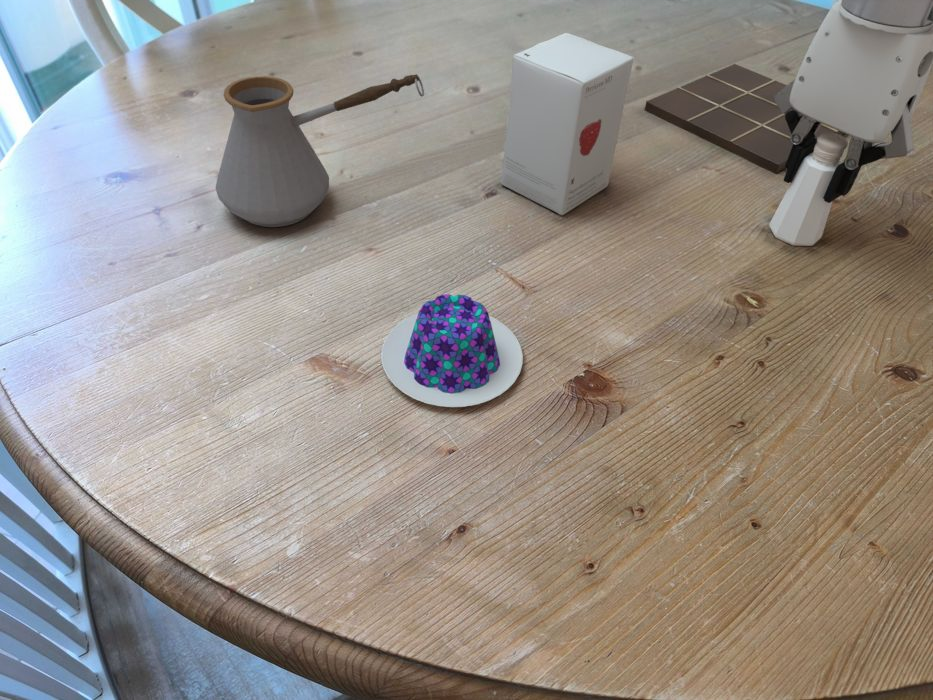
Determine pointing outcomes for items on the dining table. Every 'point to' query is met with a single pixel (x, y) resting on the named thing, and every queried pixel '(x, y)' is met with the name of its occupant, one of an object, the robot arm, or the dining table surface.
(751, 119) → the board
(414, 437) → the dining table surface
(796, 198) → the pepper shaker
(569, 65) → the rectangular carton
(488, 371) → the pudding
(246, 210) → the coffee pot
